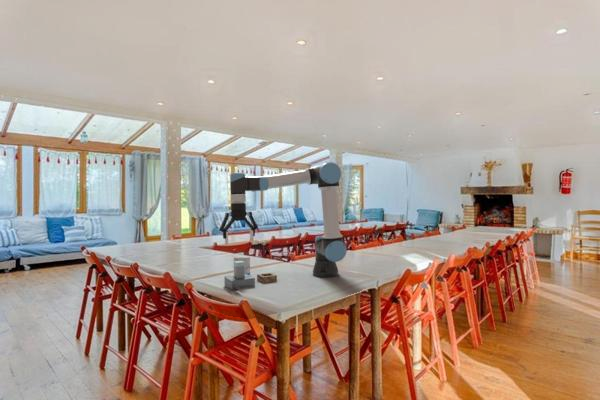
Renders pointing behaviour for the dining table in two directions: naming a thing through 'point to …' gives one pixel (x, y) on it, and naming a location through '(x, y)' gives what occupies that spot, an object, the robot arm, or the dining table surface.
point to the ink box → (246, 263)
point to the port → (239, 282)
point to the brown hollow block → (266, 277)
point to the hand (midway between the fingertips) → (239, 243)
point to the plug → (239, 269)
